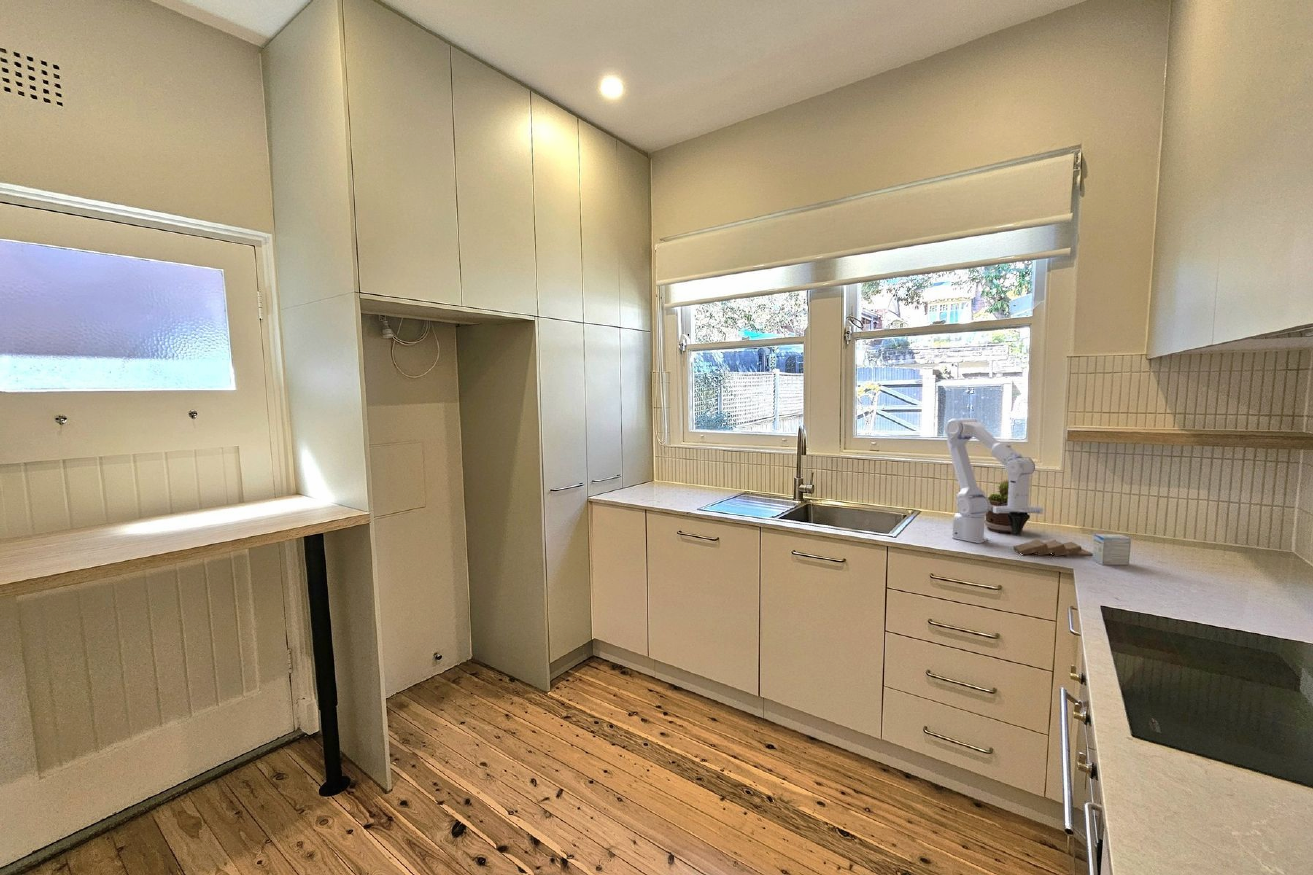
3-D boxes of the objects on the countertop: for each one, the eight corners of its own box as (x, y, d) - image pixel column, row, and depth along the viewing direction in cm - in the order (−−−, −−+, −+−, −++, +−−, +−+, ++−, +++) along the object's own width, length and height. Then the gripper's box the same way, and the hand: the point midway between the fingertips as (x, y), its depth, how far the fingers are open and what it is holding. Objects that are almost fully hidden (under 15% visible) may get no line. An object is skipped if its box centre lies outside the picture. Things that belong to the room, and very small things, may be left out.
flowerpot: (1019, 538, 194) (1023, 483, 192) (973, 529, 205) (975, 478, 203) (1031, 530, 203) (1034, 478, 201) (986, 523, 215) (989, 474, 213)
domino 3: (1054, 551, 173) (1081, 546, 172) (1045, 546, 178) (1071, 541, 177) (1055, 556, 173) (1082, 550, 172) (1046, 551, 178) (1072, 546, 177)
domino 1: (1020, 550, 174) (1046, 543, 173) (1012, 546, 179) (1037, 539, 178) (1022, 555, 174) (1048, 548, 173) (1014, 550, 179) (1039, 544, 178)
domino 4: (1067, 553, 173) (1093, 553, 172) (1057, 548, 178) (1082, 548, 177) (1066, 558, 173) (1093, 558, 172) (1056, 553, 178) (1082, 553, 177)
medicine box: (1118, 561, 168) (1120, 534, 167) (1129, 565, 163) (1131, 538, 163) (1091, 560, 169) (1093, 533, 168) (1101, 565, 164) (1103, 537, 163)
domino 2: (1037, 551, 173) (1064, 544, 172) (1029, 546, 178) (1055, 539, 177) (1039, 555, 174) (1065, 548, 172) (1031, 551, 178) (1056, 544, 177)
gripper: (1002, 496, 172) (1000, 537, 173) (1049, 496, 170) (1047, 538, 172) (990, 492, 179) (988, 531, 180) (1036, 492, 177) (1033, 532, 179)
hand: (1016, 534), depth 176 cm, fingers closed
